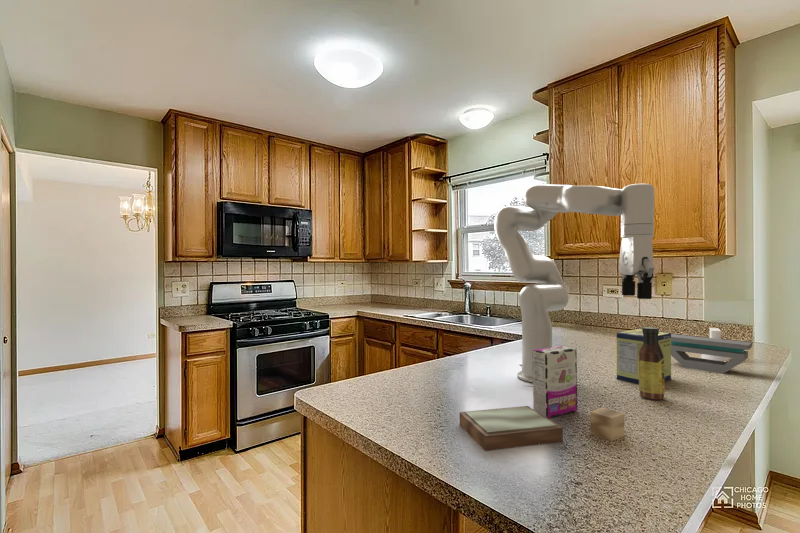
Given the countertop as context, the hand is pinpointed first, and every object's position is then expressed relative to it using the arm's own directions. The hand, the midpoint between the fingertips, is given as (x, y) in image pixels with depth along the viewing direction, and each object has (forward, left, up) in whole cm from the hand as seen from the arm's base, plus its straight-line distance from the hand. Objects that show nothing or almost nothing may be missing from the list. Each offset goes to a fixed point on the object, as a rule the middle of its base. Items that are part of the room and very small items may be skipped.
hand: (635, 297), depth 108 cm
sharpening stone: (-29, +58, -30) cm, 71 cm away
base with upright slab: (-40, +76, -30) cm, 91 cm away
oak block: (+12, -19, -30) cm, 37 cm away
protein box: (-23, +25, -30) cm, 45 cm away
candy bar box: (-3, -22, -30) cm, 37 cm away
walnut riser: (+6, -40, -29) cm, 50 cm away
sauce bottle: (-7, +12, -30) cm, 33 cm away
